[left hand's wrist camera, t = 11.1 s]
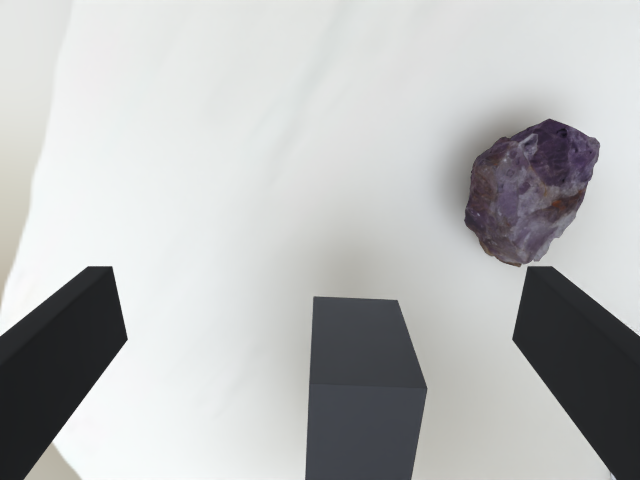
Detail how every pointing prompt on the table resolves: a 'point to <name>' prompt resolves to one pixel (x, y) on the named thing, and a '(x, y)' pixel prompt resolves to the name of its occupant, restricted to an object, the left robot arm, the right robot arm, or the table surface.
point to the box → (362, 392)
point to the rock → (529, 190)
